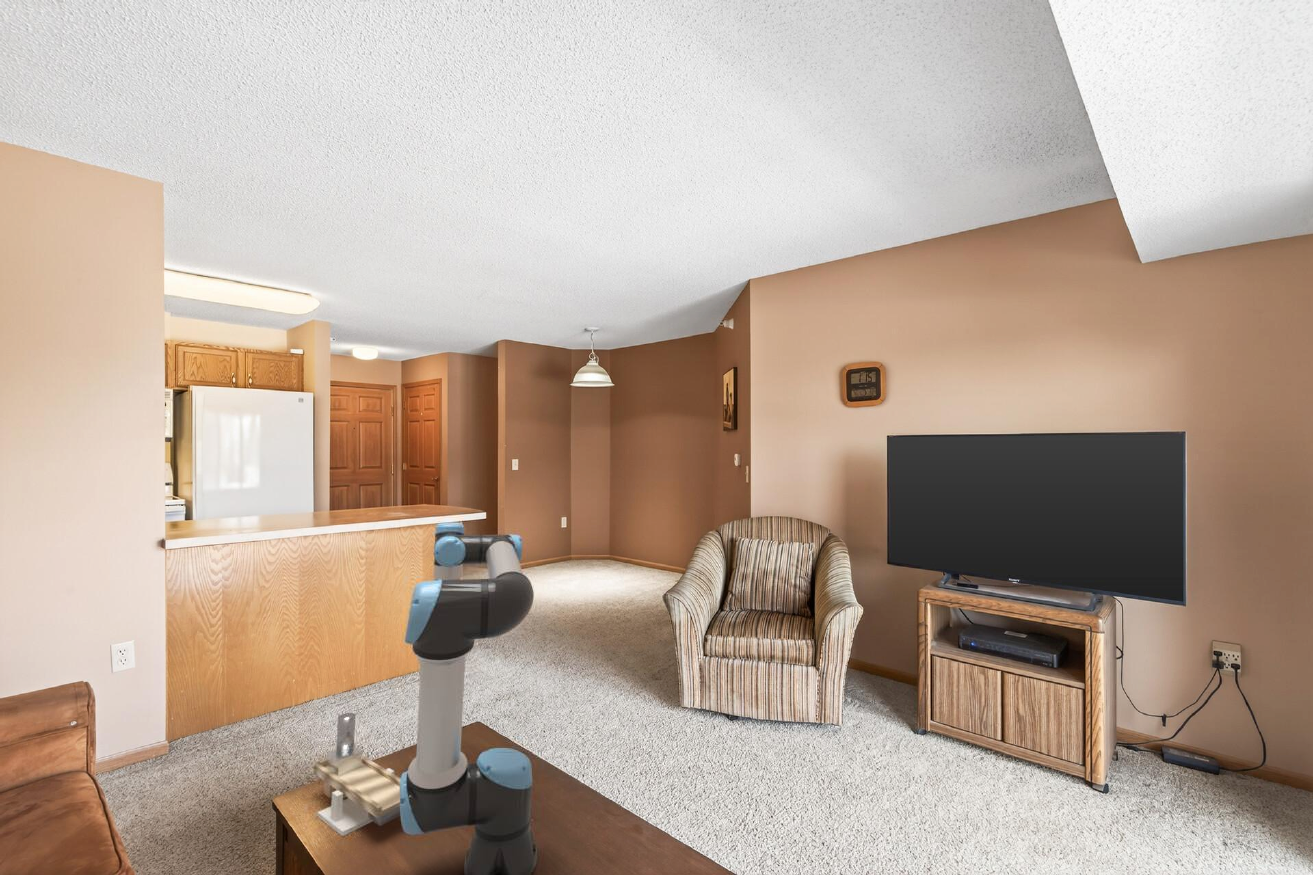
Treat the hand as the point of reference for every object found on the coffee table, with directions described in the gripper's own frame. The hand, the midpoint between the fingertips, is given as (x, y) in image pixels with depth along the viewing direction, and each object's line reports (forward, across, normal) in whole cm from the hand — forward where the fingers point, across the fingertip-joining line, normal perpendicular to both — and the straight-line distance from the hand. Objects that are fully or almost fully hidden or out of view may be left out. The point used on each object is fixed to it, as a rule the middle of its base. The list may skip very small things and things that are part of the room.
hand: (444, 657), depth 163 cm
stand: (+33, +20, -6) cm, 39 cm away
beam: (+29, +20, -2) cm, 35 cm away
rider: (+26, +20, -12) cm, 34 cm away
